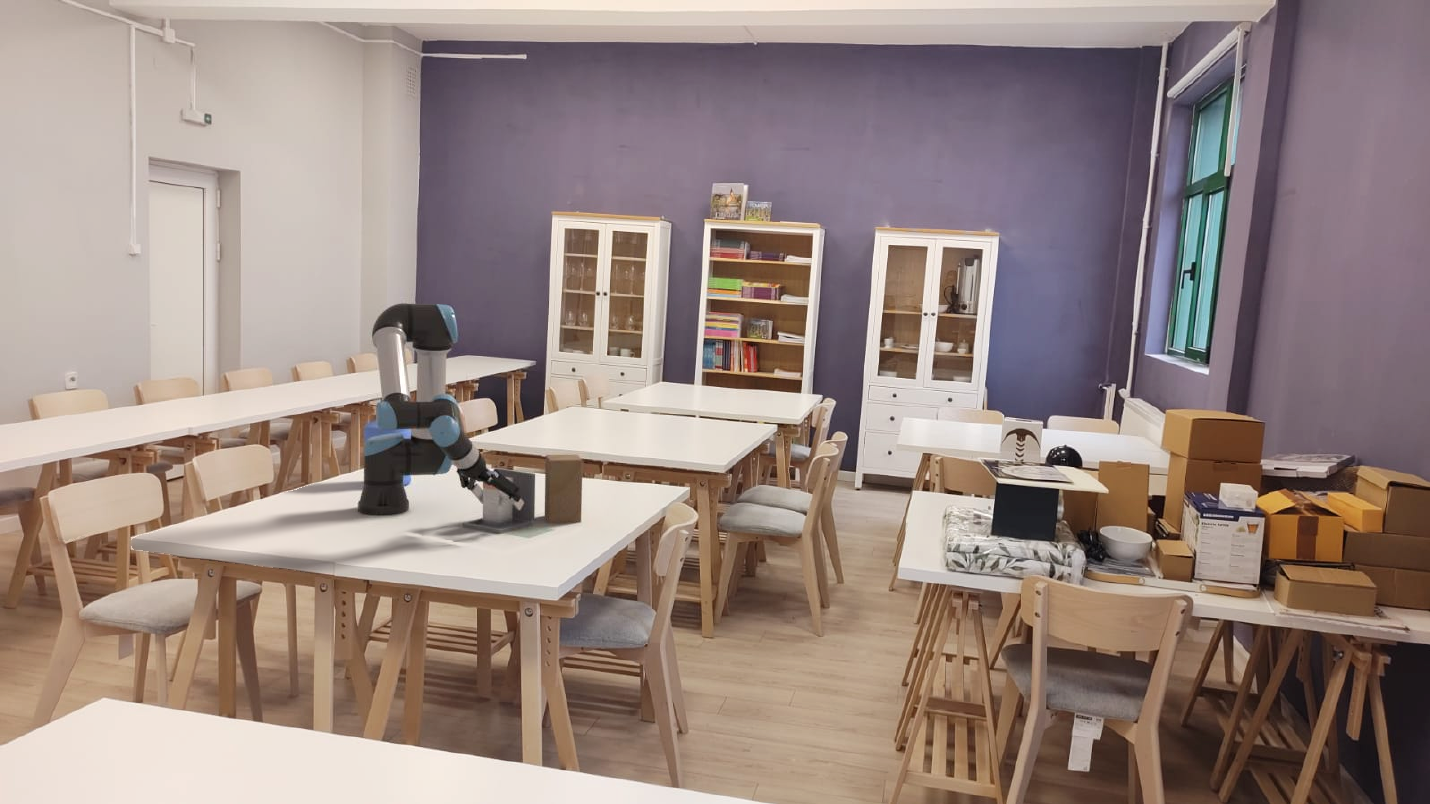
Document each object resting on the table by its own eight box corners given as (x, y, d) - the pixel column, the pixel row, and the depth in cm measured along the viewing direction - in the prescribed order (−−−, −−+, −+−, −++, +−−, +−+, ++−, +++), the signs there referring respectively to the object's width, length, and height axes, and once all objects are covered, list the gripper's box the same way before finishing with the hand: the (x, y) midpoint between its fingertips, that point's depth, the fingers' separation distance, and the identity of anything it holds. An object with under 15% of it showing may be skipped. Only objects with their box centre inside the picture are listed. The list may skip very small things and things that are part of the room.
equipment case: (462, 529, 287) (462, 475, 285) (497, 520, 300) (498, 468, 299) (500, 537, 280) (500, 481, 279) (534, 526, 294) (535, 473, 292)
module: (482, 525, 288) (482, 478, 287) (496, 522, 294) (496, 475, 292) (498, 528, 286) (499, 481, 284) (512, 524, 291) (513, 478, 289)
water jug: (364, 480, 353) (364, 402, 350) (410, 479, 358) (410, 402, 354) (363, 489, 338) (362, 407, 335) (411, 487, 343) (411, 407, 340)
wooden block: (547, 526, 295) (548, 460, 293) (544, 518, 304) (545, 454, 302) (581, 525, 297) (582, 459, 295) (576, 518, 307) (578, 454, 305)
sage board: (506, 537, 281) (506, 533, 280) (533, 529, 291) (533, 525, 291) (528, 541, 277) (528, 537, 277) (555, 533, 287) (555, 529, 287)
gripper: (427, 465, 280) (464, 508, 295) (495, 475, 268) (530, 519, 283) (441, 444, 284) (476, 487, 299) (509, 453, 272) (542, 498, 287)
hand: (502, 503), depth 291 cm, fingers open, 13 cm apart
